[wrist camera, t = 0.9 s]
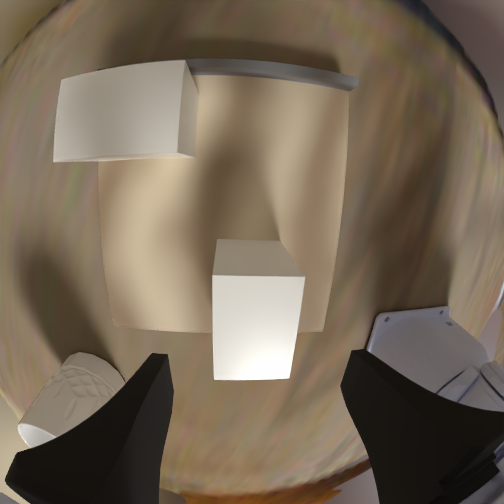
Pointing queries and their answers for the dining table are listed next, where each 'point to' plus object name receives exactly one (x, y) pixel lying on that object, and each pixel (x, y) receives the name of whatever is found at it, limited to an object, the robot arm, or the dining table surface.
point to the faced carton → (127, 114)
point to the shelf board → (229, 193)
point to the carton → (254, 309)
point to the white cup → (69, 398)
